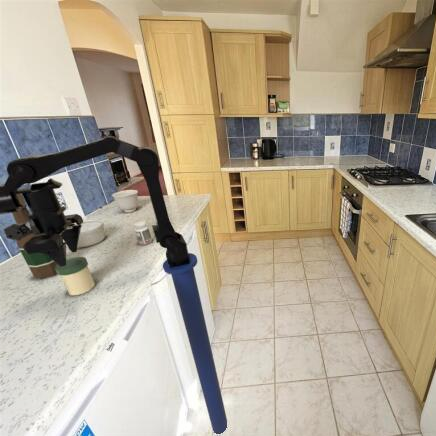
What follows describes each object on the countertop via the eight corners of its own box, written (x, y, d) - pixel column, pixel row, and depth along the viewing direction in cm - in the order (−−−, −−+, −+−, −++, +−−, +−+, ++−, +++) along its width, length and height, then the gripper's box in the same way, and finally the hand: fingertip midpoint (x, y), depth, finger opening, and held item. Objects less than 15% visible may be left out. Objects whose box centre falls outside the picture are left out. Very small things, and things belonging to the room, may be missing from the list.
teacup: (138, 203, 143) (134, 187, 139) (145, 210, 133) (140, 192, 129) (114, 209, 136) (108, 192, 132) (119, 216, 125) (113, 198, 121)
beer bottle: (38, 282, 76) (0, 210, 66) (31, 274, 80) (-7, 206, 70) (69, 269, 82) (38, 202, 72) (60, 262, 86) (30, 198, 76)
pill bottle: (152, 238, 102) (147, 220, 98) (151, 243, 98) (146, 224, 94) (139, 240, 100) (133, 222, 96) (138, 245, 96) (132, 226, 93)
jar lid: (91, 259, 74) (89, 254, 73) (83, 271, 68) (81, 266, 67) (63, 264, 72) (61, 260, 71) (52, 278, 66) (50, 272, 65)
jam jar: (97, 279, 76) (88, 256, 73) (91, 291, 71) (80, 267, 68) (73, 284, 74) (62, 261, 71) (65, 297, 69) (53, 273, 66)
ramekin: (111, 240, 101) (106, 225, 98) (71, 253, 92) (63, 237, 89) (104, 231, 109) (99, 217, 106) (66, 242, 100) (59, 227, 98)
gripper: (24, 201, 68) (48, 249, 74) (-24, 227, 52) (12, 285, 58) (73, 195, 71) (92, 241, 78) (43, 217, 55) (69, 274, 62)
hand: (69, 258), depth 69 cm, fingers open, 8 cm apart
